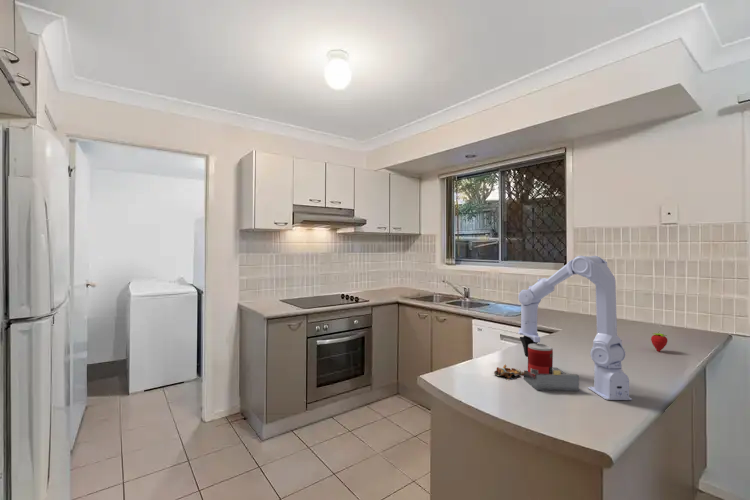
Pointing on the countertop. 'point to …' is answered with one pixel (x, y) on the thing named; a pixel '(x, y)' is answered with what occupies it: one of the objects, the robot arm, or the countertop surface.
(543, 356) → the canned food
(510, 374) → the brown jagged clump
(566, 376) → the coupler bay
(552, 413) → the countertop surface
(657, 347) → the strawberry
